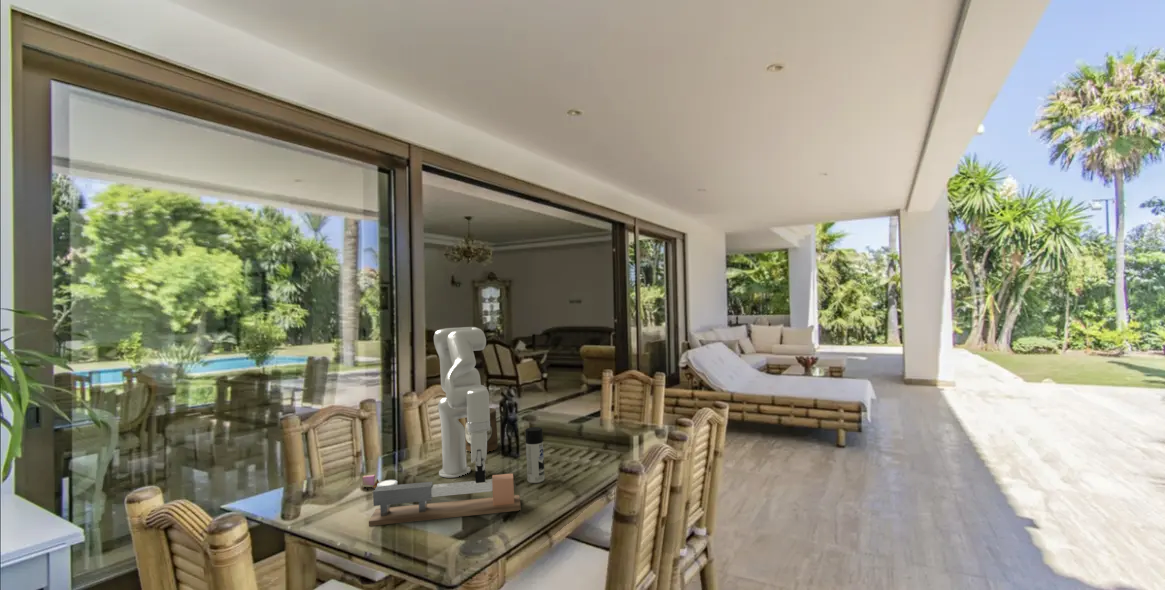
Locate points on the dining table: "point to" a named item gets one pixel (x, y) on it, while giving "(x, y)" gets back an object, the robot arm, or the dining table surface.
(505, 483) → the socket
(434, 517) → the base board
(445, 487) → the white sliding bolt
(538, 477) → the spray can
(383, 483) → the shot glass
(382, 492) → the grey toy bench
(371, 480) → the perfume bottle
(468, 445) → the wooden container
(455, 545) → the dining table surface
